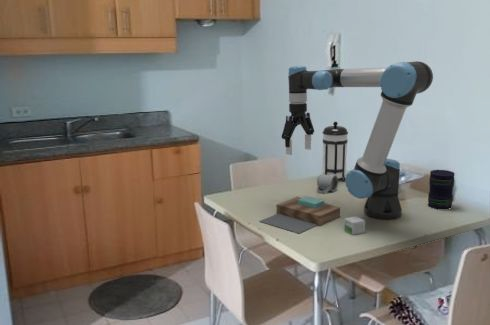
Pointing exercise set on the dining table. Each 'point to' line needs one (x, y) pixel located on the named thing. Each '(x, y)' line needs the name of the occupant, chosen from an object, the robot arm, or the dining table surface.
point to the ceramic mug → (327, 183)
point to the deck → (308, 211)
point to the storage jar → (441, 189)
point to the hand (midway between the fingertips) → (298, 151)
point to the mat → (288, 223)
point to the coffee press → (335, 151)
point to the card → (311, 202)
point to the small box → (354, 225)
